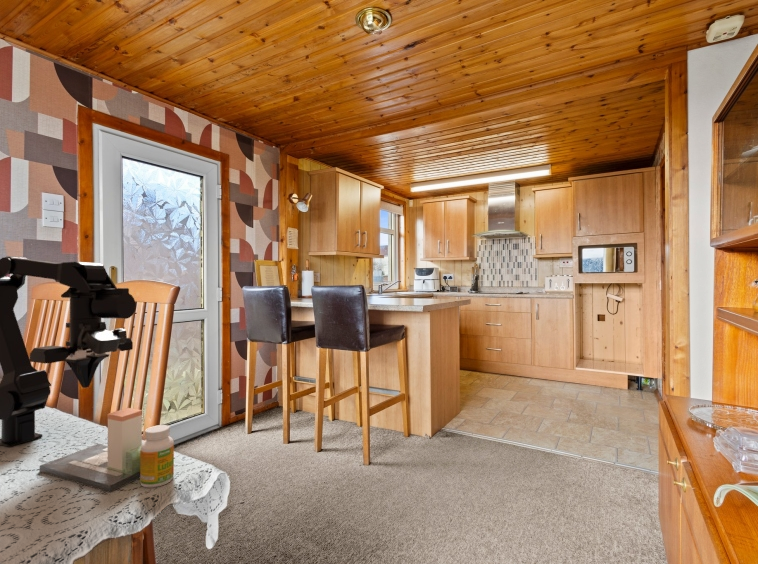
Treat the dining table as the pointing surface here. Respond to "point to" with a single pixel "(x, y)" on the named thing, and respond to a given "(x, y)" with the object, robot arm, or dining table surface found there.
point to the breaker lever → (123, 435)
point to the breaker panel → (95, 468)
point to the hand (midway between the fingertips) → (85, 387)
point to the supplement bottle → (157, 457)
